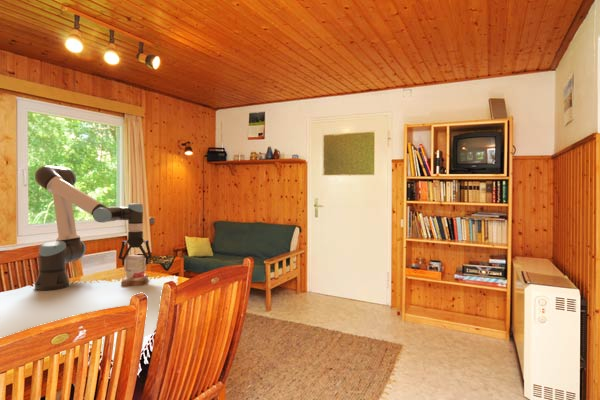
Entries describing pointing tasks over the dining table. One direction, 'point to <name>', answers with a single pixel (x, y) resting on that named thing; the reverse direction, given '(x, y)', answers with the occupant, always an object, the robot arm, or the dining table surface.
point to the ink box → (134, 266)
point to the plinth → (134, 281)
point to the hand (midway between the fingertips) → (135, 270)
